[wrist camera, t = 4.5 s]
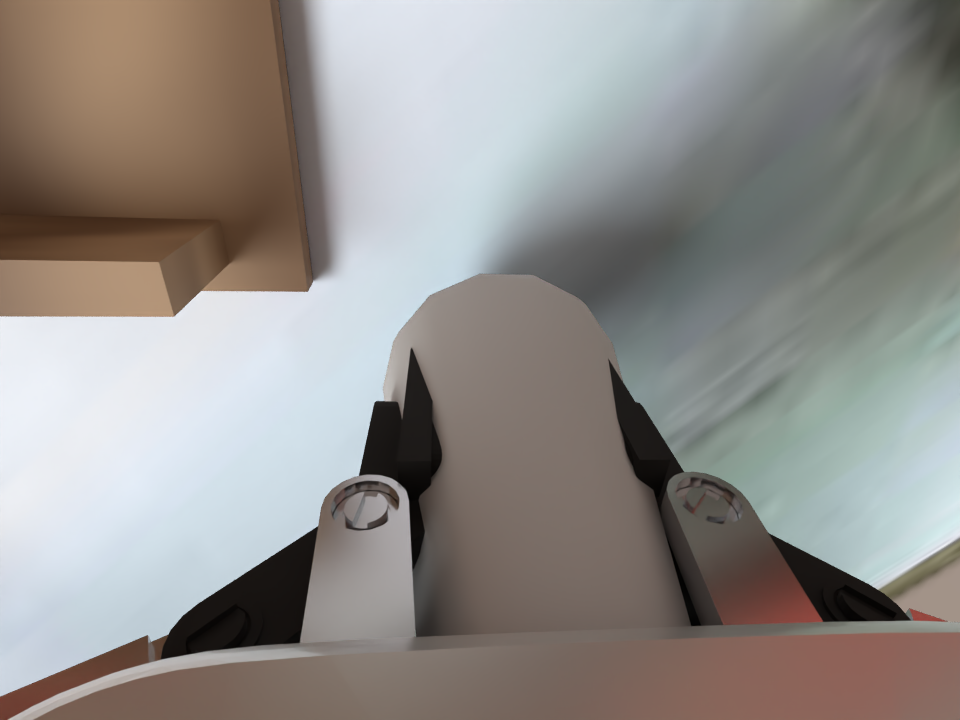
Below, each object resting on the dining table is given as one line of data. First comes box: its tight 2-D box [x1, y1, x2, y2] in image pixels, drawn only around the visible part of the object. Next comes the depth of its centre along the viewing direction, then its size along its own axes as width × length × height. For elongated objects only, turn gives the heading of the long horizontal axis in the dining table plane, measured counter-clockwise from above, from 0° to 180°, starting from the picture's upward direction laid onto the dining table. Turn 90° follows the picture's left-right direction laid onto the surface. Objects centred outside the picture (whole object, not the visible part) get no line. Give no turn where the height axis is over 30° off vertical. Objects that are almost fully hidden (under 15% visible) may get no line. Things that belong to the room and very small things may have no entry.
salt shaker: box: [383, 274, 691, 637], centre depth 9 cm, size 6×6×13 cm
